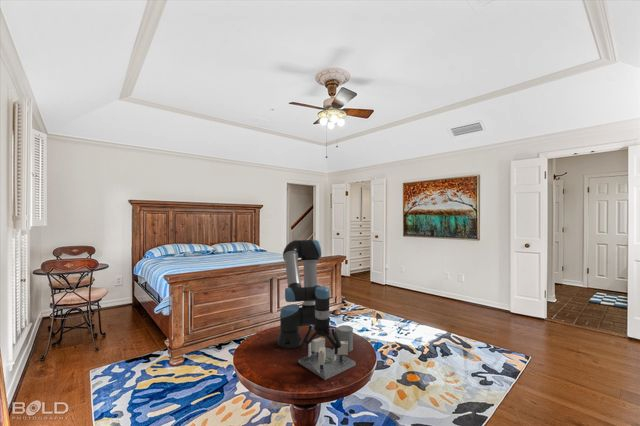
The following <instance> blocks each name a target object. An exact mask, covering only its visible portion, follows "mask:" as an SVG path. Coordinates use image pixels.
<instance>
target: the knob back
mask: <svg viewBox="0 0 640 426" xmlns="http://www.w3.org/2000/svg"><path fill="white" fill-rule="evenodd" d="M320 347H326V337H325V338H324V336H320V337H317V338H315V339H314V338H313V339H312V340H311V352H313V353H316V352H317V356H318V352H319V349H320Z"/></svg>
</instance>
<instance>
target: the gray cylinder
mask: <svg viewBox="0 0 640 426" xmlns="http://www.w3.org/2000/svg"><path fill="white" fill-rule="evenodd" d="M353 331H354V328H353V327H352V326H351V325H345V324H343V325H342V324H341V325H339V326H337V327H336V333H337V336H338V338H339V340H340V341H348V353H350V352H351V351H353V349H354V348H353V347H354V342H353V341H354V332H353Z"/></svg>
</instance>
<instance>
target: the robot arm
mask: <svg viewBox="0 0 640 426" xmlns="http://www.w3.org/2000/svg"><path fill="white" fill-rule="evenodd" d="M321 247H322V246H321V243H320V241H318V239H299V240H298V239H294V240H293V241H290V242H289V243H288V244H286V245H285V247H284V249H283V252H282V258H283V261H284V263H285V271H286V272H285V273H286V281H287V287H285V289H284V300H285V302H287V303H292V304H287V305H285V306H282V307H281V309H280V315H279V317H280V319H279V320H280V321H279V323H280V327H279V328H280V329H279V334H278V338H277V342H276V344H277V346H278V347H279V348H281V349H285V350H286V349H288V350H289V349H290V350H291V349H297V348H298V347H300V346H301V345H302V343H305V345H306V351H308V352H307V356H308V357H310V356H311V354H312V340H314V338H315V337H316V336H317V335H318V336H320V337H325V338H327V340H328V341H329V342H330V343H331V345H332V347H333V348H332V350H333V361H334V362H335V360H336V355H337V353H338V348H340V347H341V342H340V340H339V338H338V336H337V328H336V327H330V297H331V296H330V294H331V293H330V288H329V287H328V286H321V285H319V284H318V271H317V270H318V267H317V266H318V264H317V263H318V262H319V261H320V259H321V257H322V248H321ZM299 259H300V261H301V263H302V264H303V287H302V280H301V276H300V275H301V274H300V267H299V262H298V260H299ZM298 302H302V304H301V306H299V305H298V304H295V303H298ZM293 303H294V304H293ZM300 327H308V330H307V333H306V334H305V336H304V338H303V342H302V336H301V334H300ZM313 330H314V331H315V333H313V334H312V335H311V333H312V331H313ZM331 334H332V335H331ZM310 335H311V337H310ZM309 337H310V338H309ZM335 341H336V342H335Z"/></svg>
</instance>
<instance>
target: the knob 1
mask: <svg viewBox="0 0 640 426" xmlns="http://www.w3.org/2000/svg"><path fill="white" fill-rule="evenodd" d="M326 348H327V347H326V346H325V347H320V349H319V352H318V365H320V368H324V363H325V359H326Z"/></svg>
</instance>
